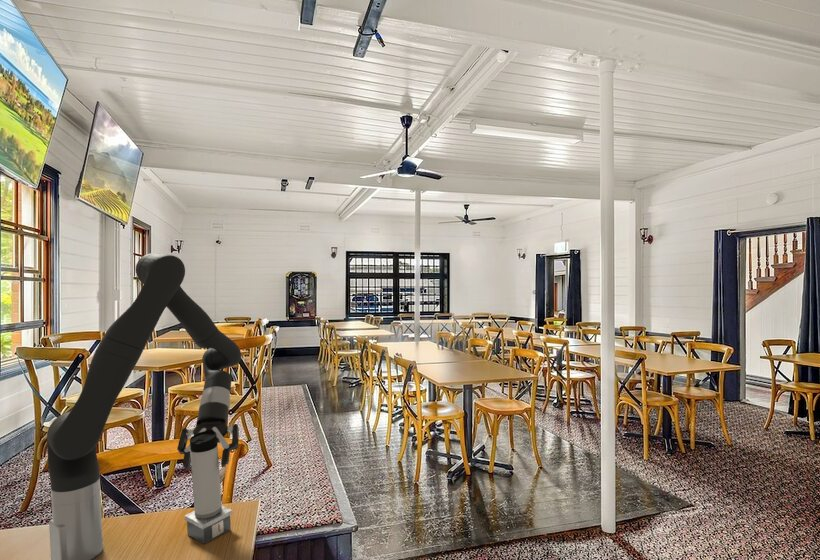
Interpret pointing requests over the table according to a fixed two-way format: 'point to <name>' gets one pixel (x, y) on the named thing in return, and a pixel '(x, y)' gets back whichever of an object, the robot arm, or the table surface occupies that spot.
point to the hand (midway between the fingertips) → (205, 467)
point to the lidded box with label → (208, 525)
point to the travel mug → (205, 474)
